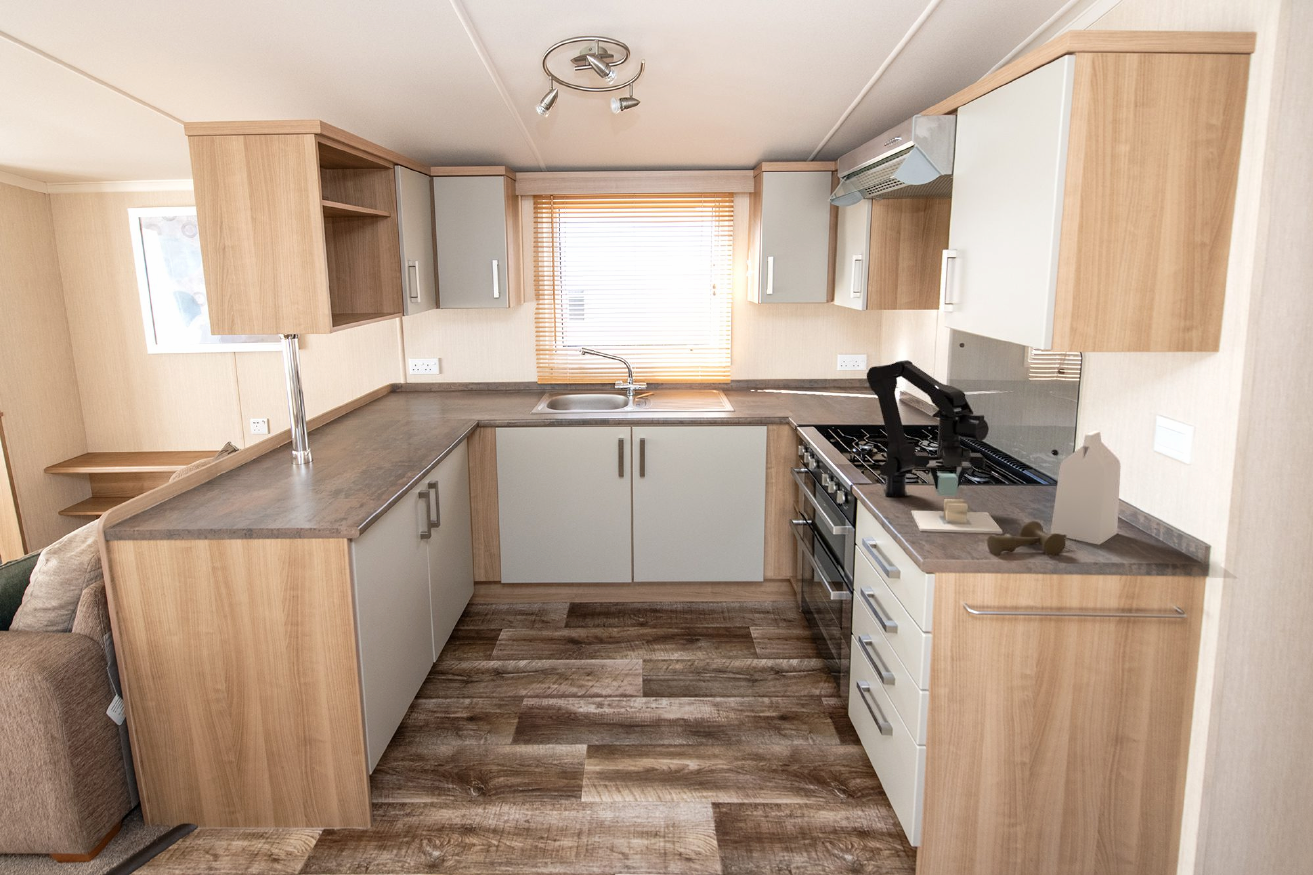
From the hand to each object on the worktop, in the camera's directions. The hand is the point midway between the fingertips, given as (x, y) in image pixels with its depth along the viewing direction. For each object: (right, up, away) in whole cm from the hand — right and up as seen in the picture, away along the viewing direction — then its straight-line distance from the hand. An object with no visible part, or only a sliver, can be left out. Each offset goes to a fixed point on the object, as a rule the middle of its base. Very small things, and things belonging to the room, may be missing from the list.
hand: (946, 489), depth 226 cm
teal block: (0, -1, 0) cm, 1 cm away
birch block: (-2, -7, -13) cm, 15 cm away
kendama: (+7, -13, -34) cm, 37 cm away
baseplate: (-2, -8, -12) cm, 15 cm away
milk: (+26, -10, -23) cm, 36 cm away
